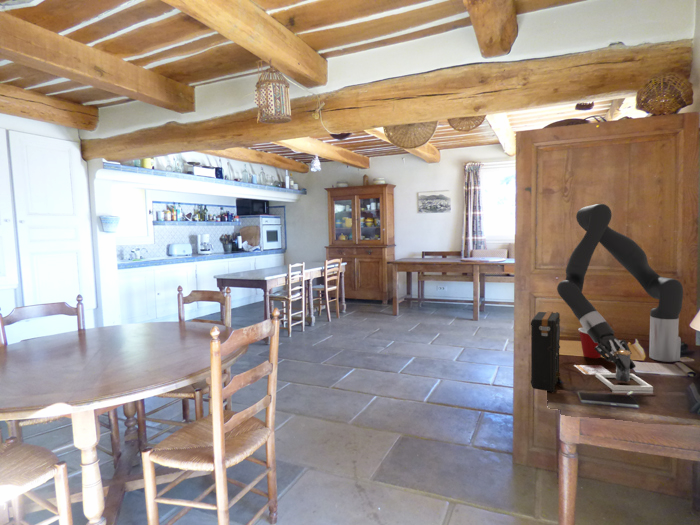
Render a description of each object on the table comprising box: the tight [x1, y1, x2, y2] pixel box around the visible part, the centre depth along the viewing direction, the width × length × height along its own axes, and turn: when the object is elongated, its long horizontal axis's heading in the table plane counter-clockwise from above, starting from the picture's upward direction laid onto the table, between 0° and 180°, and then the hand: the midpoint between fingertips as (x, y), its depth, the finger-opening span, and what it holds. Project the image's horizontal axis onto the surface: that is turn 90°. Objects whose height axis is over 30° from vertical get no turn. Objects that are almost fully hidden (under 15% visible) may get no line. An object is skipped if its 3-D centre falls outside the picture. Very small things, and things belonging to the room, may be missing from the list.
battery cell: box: [615, 349, 631, 383], centre depth 143 cm, size 4×4×10 cm
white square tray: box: [595, 372, 654, 394], centre depth 144 cm, size 12×12×2 cm
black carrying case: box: [530, 310, 561, 393], centre depth 147 cm, size 16×9×25 cm, turn 148°
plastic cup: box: [577, 327, 602, 359], centre depth 173 cm, size 11×11×12 cm
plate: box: [573, 364, 612, 375], centre depth 158 cm, size 10×10×1 cm
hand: (628, 369), depth 142 cm, fingers closed on battery cell, 3 cm apart
